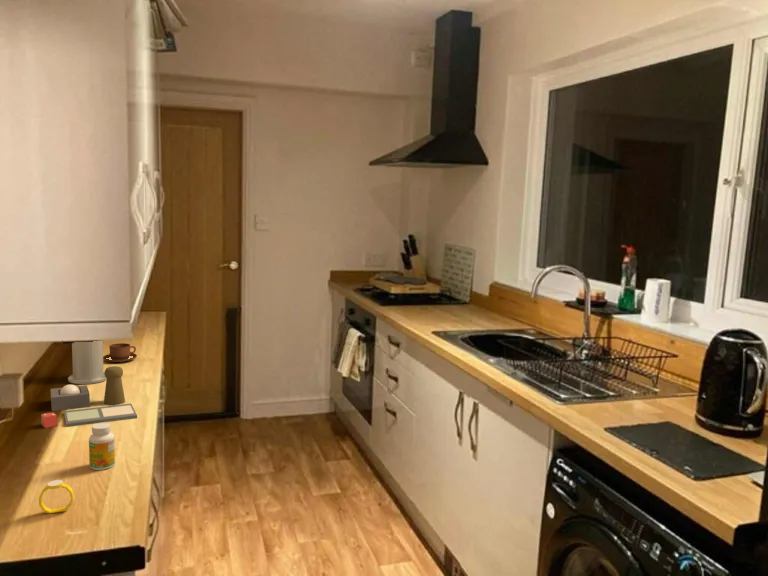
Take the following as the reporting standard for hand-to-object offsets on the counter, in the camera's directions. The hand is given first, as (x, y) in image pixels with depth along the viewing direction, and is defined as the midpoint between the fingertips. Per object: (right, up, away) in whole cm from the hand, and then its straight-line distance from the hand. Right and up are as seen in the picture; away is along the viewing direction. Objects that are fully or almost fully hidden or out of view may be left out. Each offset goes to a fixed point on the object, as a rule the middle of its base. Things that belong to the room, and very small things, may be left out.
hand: (68, 340), depth 189 cm
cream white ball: (-1, -19, +2) cm, 19 cm away
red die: (+3, -22, -16) cm, 27 cm away
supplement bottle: (+28, -26, -42) cm, 57 cm away
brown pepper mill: (+11, -19, +6) cm, 23 cm away
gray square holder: (-1, -19, +2) cm, 19 cm away
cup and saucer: (-8, -13, +57) cm, 59 cm away
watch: (+29, -29, -64) cm, 76 cm away
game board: (+13, -21, -7) cm, 26 cm away
